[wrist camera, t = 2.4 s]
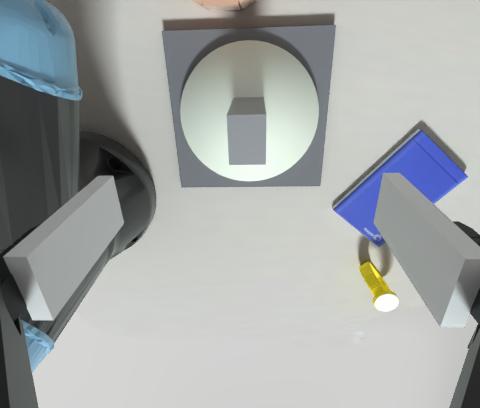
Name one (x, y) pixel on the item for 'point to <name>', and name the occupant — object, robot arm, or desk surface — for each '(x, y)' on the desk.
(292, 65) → the lid
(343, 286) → the desk surface
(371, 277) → the yellow curved ring
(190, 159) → the mat
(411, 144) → the hard drive
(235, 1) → the bowl
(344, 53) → the desk surface
